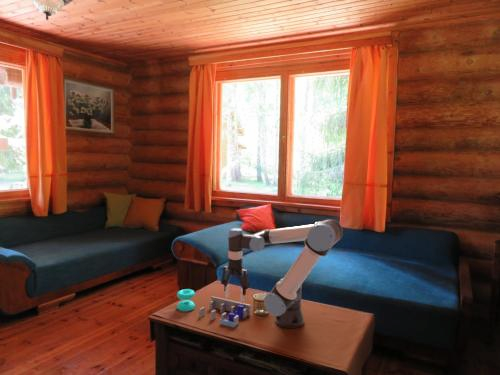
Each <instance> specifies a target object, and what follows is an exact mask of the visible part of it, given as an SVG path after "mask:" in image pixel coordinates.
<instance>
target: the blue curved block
mask: <svg viewBox="0 0 500 375" xmlns="http://www.w3.org/2000/svg"><path fill="white" fill-rule="evenodd" d="M243 309H244V306H241V305H239V306H238V310H236V311H235V312H234V313H231V312H229V313H227V314H228V316H227V317H228V319H227V320H229V321H232V322H233V318H234V317H235V316H236V315H238V316H239V321H240V320H241V319H244V318H243Z"/></svg>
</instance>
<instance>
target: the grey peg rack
mask: <svg viewBox="0 0 500 375" xmlns="http://www.w3.org/2000/svg"><path fill="white" fill-rule="evenodd" d="M210 299H211V301H209V311H210V321H214V320H215V319H216V318H217V310H216V309H219V310H220V313H221V316H220V317H221V318H220V319H219V324H220V325H223V326H227V327H231V328H235V327H237V326H238V325H239V322H240V320H239V316H238V315H236V316H235V317H234V318H233V322H232V321H229V320H228V319H227V317H228V316H227V314H228V313H227V312H230V313H234V312H235V311H236V310H238V306H239V305H241V306H244V309H243V318H242V319H246V318H247V317H250V316H251V313H252V312H251V311H252V309H251V308H252V305H251V304H250V303H249V304H248V303H245V302H244V303H243V302H241V301H236V300H232V299H228V298H222V297H218V296H215V295H212V296H211V298H210ZM225 311H227V312H225ZM205 314H206V312H205V306H202V307H200V308H199V309H198V317H199V318H203V317H204V316H205Z"/></svg>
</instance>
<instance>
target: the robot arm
mask: <svg viewBox="0 0 500 375" xmlns="http://www.w3.org/2000/svg"><path fill="white" fill-rule="evenodd" d="M343 232H344V230H343V227H342V225H341V223H340V222H339V221H337V220H335V219H332V218H331V219H325V220H321V221H315V223H314V224H305V225H300V226H299V225H298V226H292V227H291V226H290V227H289V226H288V227H282V228H281V227H280V228H274V229H267V228H266V229H262V230H260V231H258V232H256V233H253V234H246V233H244V230H243V228H239V227H237V228H236V227H235V228H230V229H229V230H228V237H227V238H228V241H227V242H228V253H227V255H228V256H227V257H228V259H227V261H228V262H227V263H228V266H227V265H224V266H223V267H222V269H223V270H222V275H221V276H222V277H221V279H220V280H221V282H220V284H221V285H223V287H224V288H223V289H224V292H225V299H228V298H229V297H230V284H229V283H230V281H231V279H232V277H233V276H235V277H237V279H238V281H239V284H240V287H241V289H240V302H241V303H243V302H245V296H246V295H247V290H248V289H249V288H250V282H249V276H248V271H249V270H248V269H247V268H246V269H244V268H243V252H244V250H243V249H245V250H249V251H252V252H253V251H254V252H261V251H263V249H264V248H265V245H274V244H281V243H283V244H284V243H293V242H304V247H303V249H302V250H301V252H300V253H299V255H298V256H297V257H296V259H295V261H294V262H293V264H292V265H291V267H290V268H289V270H288V271H287V273H286V274H285V276H284V277H282V278H280V279H279V281H277V282H276V283H275V285H274V286H273V288H272V289H271V290H270V291H269V292H268V293H267V294H266V295H265V297H264V299H263V304H264V308H265V309H266V311H267V312H268V313H269V314H270V315H271V316H274V317H275V318H274V319H275V320H274V321H275V324H276V325H278V326H280V327H282V328H286V329H297V328H301V327H302V326H303V325H304V323H305V317H304V314H303V310H302V289H303V287H302V285H303V283H304V281H305V280H306V279H307V277H308V276H309V274H310V273H311V271H312V270H313V268H314V267H315V266H316V264H317V263H318V261H319V260H320V258H322V257H326V256H327V255H328V253H329V252H330V251H331V249H332V247H333V246H334V245H336V243H338V242H339V241H340V240H342V237H343ZM228 271H229V272H228Z"/></svg>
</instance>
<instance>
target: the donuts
mask: <svg viewBox="0 0 500 375" xmlns="http://www.w3.org/2000/svg"><path fill="white" fill-rule="evenodd" d="M195 295H196V293H195V290H193V289H190V288H185V289H181V290H179V291H177V293H176V296H177V298H178V299H179V300H182V301H179V302H178V303H177V305H176V308H177V310H178V311H180V312H189V311H193V309H195V306H196V304H195V303H194V301H192V300H191V299H193V298H194V297H195Z"/></svg>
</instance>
